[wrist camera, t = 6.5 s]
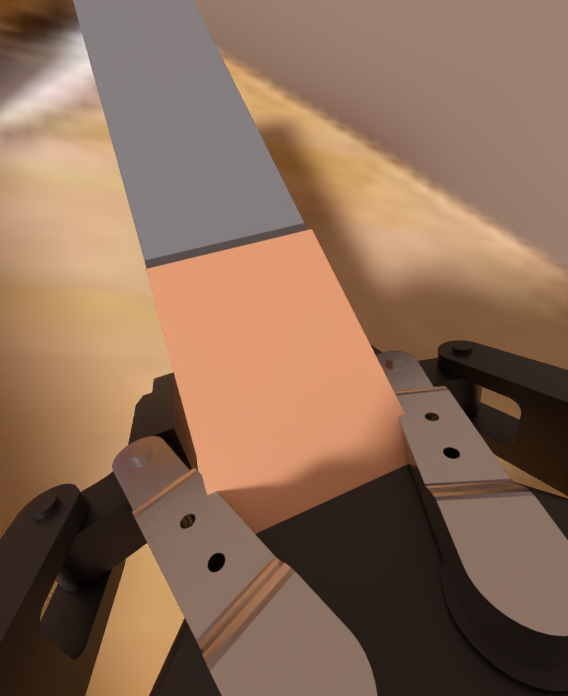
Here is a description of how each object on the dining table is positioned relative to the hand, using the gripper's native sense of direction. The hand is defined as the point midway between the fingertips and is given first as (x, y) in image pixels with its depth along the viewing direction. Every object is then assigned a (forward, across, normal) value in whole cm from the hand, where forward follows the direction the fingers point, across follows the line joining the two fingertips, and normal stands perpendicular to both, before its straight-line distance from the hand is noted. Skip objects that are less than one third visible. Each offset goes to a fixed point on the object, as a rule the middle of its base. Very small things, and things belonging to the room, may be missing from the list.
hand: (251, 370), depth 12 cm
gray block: (+9, 0, +2) cm, 9 cm away
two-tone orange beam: (+2, 0, -5) cm, 6 cm away
